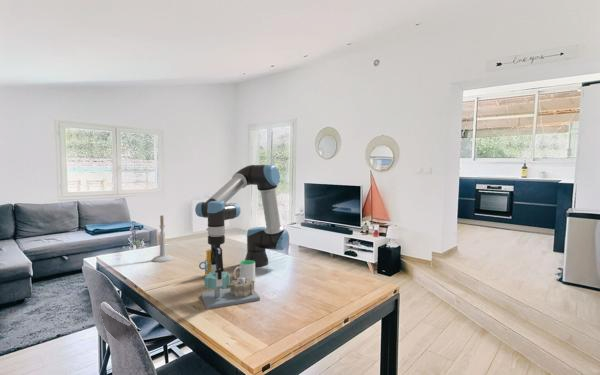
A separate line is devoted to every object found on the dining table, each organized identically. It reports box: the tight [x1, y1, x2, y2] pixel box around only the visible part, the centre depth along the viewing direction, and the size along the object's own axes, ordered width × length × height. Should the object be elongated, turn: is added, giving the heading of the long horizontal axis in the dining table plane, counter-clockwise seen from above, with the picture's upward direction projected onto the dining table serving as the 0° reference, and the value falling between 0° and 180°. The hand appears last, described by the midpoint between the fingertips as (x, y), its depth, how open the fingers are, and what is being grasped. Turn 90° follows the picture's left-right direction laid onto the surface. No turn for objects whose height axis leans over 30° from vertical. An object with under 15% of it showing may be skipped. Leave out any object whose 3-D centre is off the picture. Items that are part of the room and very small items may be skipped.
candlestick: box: [152, 214, 174, 263], centre depth 220 cm, size 13×13×30 cm
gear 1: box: [204, 271, 231, 291], centre depth 154 cm, size 11×11×5 cm
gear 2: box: [229, 279, 255, 297], centre depth 159 cm, size 11×11×5 cm
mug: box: [233, 259, 256, 283], centre depth 178 cm, size 12×8×10 cm, turn 128°
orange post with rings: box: [198, 248, 212, 275], centre depth 187 cm, size 12×10×15 cm
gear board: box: [200, 278, 261, 310], centre depth 156 cm, size 24×17×8 cm
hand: (216, 282), depth 153 cm, fingers closed on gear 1, 11 cm apart
